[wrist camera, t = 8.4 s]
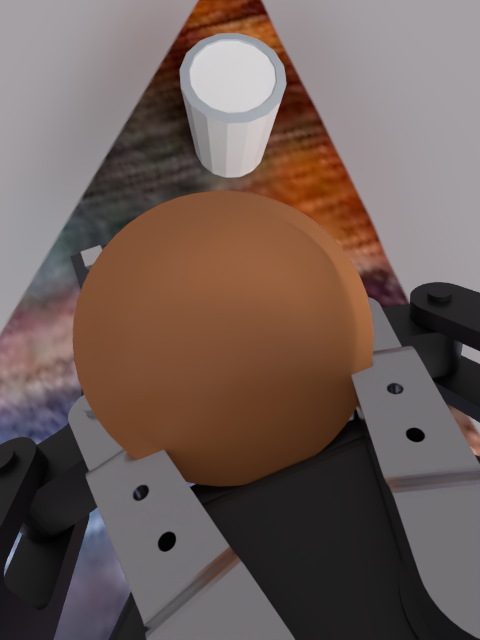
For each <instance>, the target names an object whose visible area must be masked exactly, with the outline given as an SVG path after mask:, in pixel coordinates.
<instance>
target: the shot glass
mask: <svg viewBox="0 0 480 640" xmlns="http://www.w3.org/2000/svg"><path fill="white" fill-rule="evenodd" d="M180 81H181V90H182V94H183V99H184V103H185V107H186V112H187V116H188V120H189V125H190V129H191V133H192V138H193V142H194V146H195V151H196V155H197V156H198V158H199V160H200V162H201V164H202V165H203V166H204V167H205V168H207V169H208V170H209V171H210V172H212V173H213V174H216V175H219V176H223V177H226V178H228V177H241V176H243V175H245V174H247V173H250V172H252V171H253V170H254V169H255V168H256V167H257V166H258V164H259V163H260V162H261V159H262V156H263V153H264V150H265V147H266V144H267V141H268V138H269V135H270V132H271V129H272V126H273V123H274V120H275V117H276V114H277V111H278V108H279V105H280V102H281V99H282V96H283V93H284V90H285V87H286V77H285V70H284V66H283V64H282V63H281V61H280V59H279V58H278V56H277V55H276V53H275V51H274V50H272V49H271V48H270V47H268V46H267V45H265V44H264V43H263V42H261V41H260V40H259V39H256V38H253V37H249V36H246V35H243V34H240V33H228V34H217V35H214V36H211V37H209V38H206V39H203V40H201V41H199V42H198V43H197V44H196V45H195V46H194V47H193V48H192V49H191V50H189V51H188V52H187V53H186V56H185V58H184V60H183V63H182V65H181V68H180Z"/></svg>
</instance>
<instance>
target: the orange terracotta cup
mask: <svg viewBox="0 0 480 640" xmlns="http://www.w3.org/2000/svg"><path fill="white" fill-rule="evenodd" d="M373 338H374V331H373V322H372V313H371V309H370V305H369V301H368V297H367V294H366V291H365V288H364V286H363V283H362V281H361V278H360V276H359V274H358V272H357V271H356V269H355V267H354V265H353V263H352V261H351V260H350V259H349V257H348V256H347V254H346V253H345V251H344V250H343V249H342V247H341V246H340V245H339V244H338V243H337V242H336V241H335V239H334V238H333V237H332V236H331V235H330V234H329V233H328V232H327V231H326V230H324V229H323V228H322V227H321V226H320V225H319V224H317V223H316V222H315V221H314V220H312V219H311V218H309V217H308V216H306V215H305V214H303V213H302V212H300V211H298V210H296V209H294V208H292V207H290V206H288V205H286V204H284V203H282V202H279V201H276V200H274V199H271V198H268V197H265V196H260V195H256V194H252V193H246V192H237V191H208V192H200V193H194V194H190V195H186V196H182V197H178V198H175V199H172V200H170V201H167V202H164V203H162V204H159V205H158V206H156V207H154V208H152V209H150V210H148V211H146V212H144V213H143V214H141V215H140V216H138V217H137V218H136V219H134V220H133V221H131V222H130V223H128V224H127V225H126V226H125V227H124V228H123V229H122V230H121V231H120V232H118V233H117V234H116V235H115V236H114V237H113V238H112V240H111V241H110V242H109V243H108V244H107V245H106V246H105V248H104V249H103V250H102V252H101V253H100V255H99V256H98V258H97V259H96V261H95V262H94V264H93V265H92V267H91V269H90V271H89V273H88V275H87V277H86V279H85V281H84V283H83V286H82V289H81V292H80V295H79V298H78V301H77V306H76V312H75V317H74V326H73V350H74V361H75V365H76V370H77V374H78V379H79V382H80V384H81V387H82V390H83V393H84V395H85V398H86V400H87V402H88V404H89V406H90V407H91V409H92V411H93V413H94V415H95V417H96V418H97V419H98V421H99V422H100V423H101V425H102V426H103V427H104V429H105V430H106V432H107V433H108V434H109V435H110V436H111V437H112V438H113V439H114V440H115V441H116V442H117V443H118V444H119V445H120V446H121V447H122V448H123V449H124V450H125V451H127V452H128V453H129V454H131V455H132V456H133V457H134V458H136V459H137V460H139V459H142V458H144V457H147V456H149V455H152V454H154V453H157V452H159V451H162V450H165V452H166V453H167V455H168V456H169V458H170V459H171V461H172V462H173V464H174V465H175V466H176V468H177V469H178V471H179V472H180V474H181V475H182V477H183V478H184V480H185V481H186V482H190V483H195V484H199V485H209V486H240V485H247V484H249V483H252V482H254V481H256V480H259V479H261V478H263V477H266V476H268V475H271V474H273V473H275V472H278V471H280V470H282V469H285V468H287V467H290V466H292V465H294V464H297V463H299V462H301V461H304V460H306V459H309V458H311V457H313V456H315V455H317V454H318V453H319V452H320V451H322V450H323V449H324V448H325V447H326V446H327V445H328V444H329V443H330V442H331V441H332V440H333V439H334V438H335V437H336V436H337V435H338V433H339V432H340V431H341V430H342V429H343V427H344V426H345V425H346V424H347V422H348V420H349V419H350V417H351V416H352V414H353V412H354V411H355V409H356V407H357V403H356V398H355V393H354V388H353V383H352V378H351V375H353V374H355V373H358V372H360V371H363V370H365V369H368V368H370V367H371V363H372V356H373Z"/></svg>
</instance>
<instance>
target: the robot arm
mask: <svg viewBox="0 0 480 640" xmlns="http://www.w3.org/2000/svg"><path fill="white" fill-rule="evenodd" d="M368 301H369V305H370V309H371V313H372V322H373V331H374V338H373V356H372V363H371V367H370V368H368V369H365V370H363V371H360V372H358V373H355V374H353V375H351V378H352V383H353V388H354V393H355V398H356V403H357V407H356V409H355V411H354V412H353V414H352V416H351V417H350V419H349V420H348V422H347V424H346V425H345V426H344V427H343V429H342V430H341V431H340V432H339V433H338V435H337V436H336V437H335V438H334V439H333V440H332V441H331V442H330V443H329V444H328V445H327V446H326V447H325V448H324V449H323V450H322V451H320V452H319V453H318V454H317V455H315V456H313V457H311V458H309V459H306V460H304V461H301V462H299V463H297V464H294V465H292V466H290V467H287V468H285V469H282V470H280V471H278V472H275V473H273V474H271V475H268V476H266V477H263V478H261V479H259V480H256V481H254V482H252V483H249V484H247V485H240V486H209V485H199V484H196V485H193V486H191V487H189V486H188V484H187V483H186V481H185V480H184V478H183V477H182V475H181V474H180V472H179V471H178V469H177V468H176V466H175V465H174V464H173V462H172V461H171V459H170V458H169V456H168V455H167V453H166V452H165V450H162V451H159V452H157V453H154V454H152V455H149V456H147V457H144V458H142V459H139V460H137V459H136V458H134V457H133V456H132V455H131V454H129V453H128V452H127V451H125V450H124V449H123V448H122V447H121V446H120V445H119V444H118V443H117V442H116V441H115V440H114V439H113V438H112V437H111V436H110V435H109V434H108V433H107V432H106V430H105V429H104V427H103V426H102V425H101V423H100V422H99V421H98V419H97V418H96V417H95V415H94V413H93V411H92V409H91V407H90V406H89V404H88V402H87V400H86V398H85V395H84V393H83V390H82V395H81V397H80V398H79V399H78V400H77V401H76V402H75V403H74V405H73V406H72V408H71V409H70V412H69V415H68V421H69V423H68V424H67V425H66V426H65V427H64V428H62V429H61V430H60V431H58V432H57V433H55V434H54V435H52V436H50V437H49V438H47V439H46V440H44V441H42V442H41V443H39V444H38V445H36V444H35V442H34V441H33V440H32V439H30V438H26V437H20V438H15V439H12V440H9V441H7V442H5V443H3V444H1V445H0V640H53V639H54V636H55V632H56V629H57V626H58V622H59V619H60V616H61V612H62V609H63V605H64V602H65V599H66V595H67V592H68V589H69V585H70V582H71V578H72V575H73V572H74V568H75V565H76V562H77V558H78V555H79V551H80V548H81V545H82V541H83V538H84V535H85V531H86V528H87V524H88V521H89V513H90V512H92V511H93V510H94V509H96V508H97V507H98V509H99V512H100V514H101V517H102V519H103V522H104V524H105V527H106V529H107V532H108V534H109V537H110V539H111V542H112V544H113V547H114V549H115V552H116V554H117V557H118V559H119V562H120V564H121V567H122V569H123V572H124V574H125V577H126V579H127V582H128V584H129V587H130V589H131V593H130V595H129V597H128V599H127V601H126V603H125V606H124V608H123V610H122V612H121V614H120V616H119V619H118V621H117V623H116V625H115V627H114V629H113V631H112V634H111V636H110V638H109V640H480V457H479V456H477V455H474V453H473V451H472V450H471V448H470V446H469V444H468V442H467V441H466V439H465V437H464V435H463V434H462V432H461V430H460V428H459V426H458V425H457V423H456V421H455V419H454V418H453V416H452V414H451V412H450V410H449V409H448V407H447V405H446V403H447V404H449V405H451V406H453V407H454V408H456V409H458V410H459V411H461V412H463V413H464V414H466V415H468V416H470V417H471V418H473V419H475V420H476V421H478V422H480V364H479V363H477V362H474V361H472V360H470V359H468V358H466V357H463V356H462V355H461V351H462V345H463V344H465V345H467V346H469V347H472V348H474V349H476V350H478V351H480V293H479V292H476V291H473V290H470V289H467V288H464V287H461V286H458V285H454V284H450V283H443V282H434V283H427V284H423V285H421V286H418V287H417V288H415V289H414V290H413V291H412V292H411V294H410V304H406V305H399V306H392V307H384V308H381V306H380V304H379V303H378V302H377V301H376V300H374V299H372V298H369V297H368ZM445 402H446V403H445ZM19 531H20V532H21V533H22V536H21V539H20V541H19V543H18V546H17V548H16V550H15V553H14V555H13V557H12V560H11V562H10V564H9V567H8V569H7V571H6V574H5V576H4V568H5V564H6V561H7V558H8V556H9V554H10V552H11V549H12V547H13V545H14V542H15V540H16V538H17V535H18V533H19Z"/></svg>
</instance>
